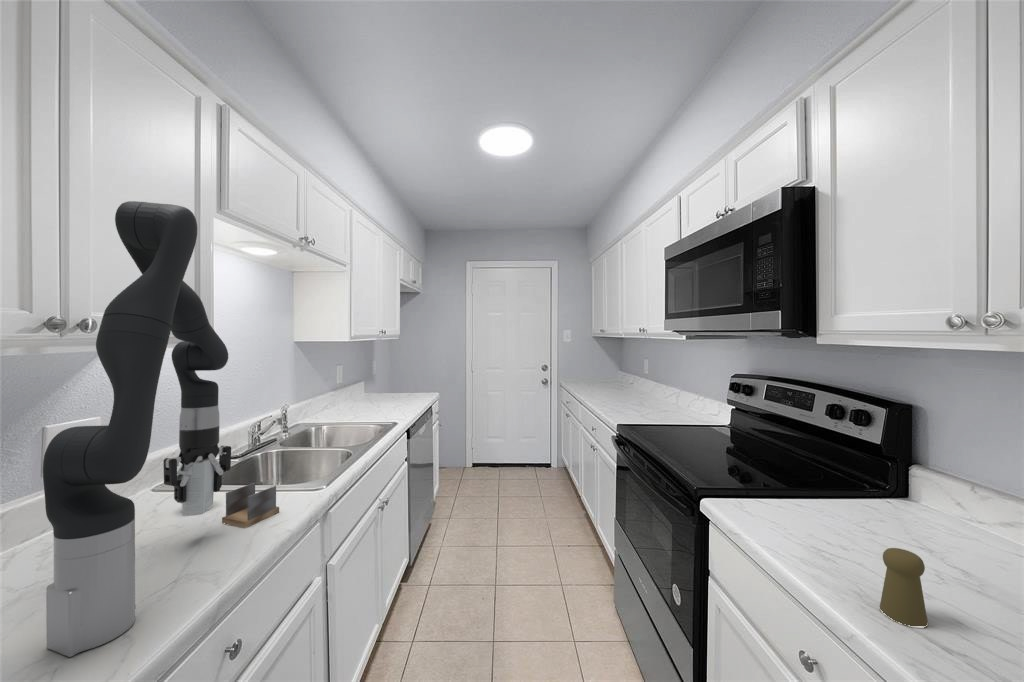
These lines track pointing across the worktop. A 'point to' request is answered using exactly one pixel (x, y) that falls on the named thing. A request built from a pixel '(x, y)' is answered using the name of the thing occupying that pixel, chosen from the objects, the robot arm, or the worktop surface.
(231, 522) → the brown gray open holder
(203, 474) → the skincare box
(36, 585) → the worktop surface
